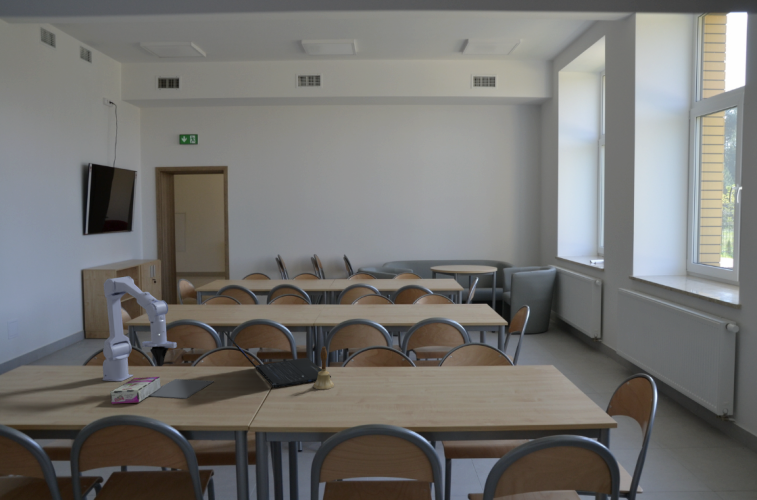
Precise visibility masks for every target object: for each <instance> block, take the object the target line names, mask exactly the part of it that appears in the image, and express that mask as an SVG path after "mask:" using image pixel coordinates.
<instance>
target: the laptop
mask: <svg viewBox="0 0 757 500" xmlns="http://www.w3.org/2000/svg"><path fill="white" fill-rule="evenodd" d="M222 332H223V333H224V334H225V335H226V337H227V338H228V339H229V340H230V341H231V342H232V343H233V344H234V346H235V347H236V348H237V350H238V351H239V352H240V353H242V355H243V356H244V357H245V358H246V359H247V360H248V362H250V364H252V366H253V367H254V368H255V369H256V370H257V371H258V372H259V374H261V376H262V377H263V378H264V379H265V380H266V381H267V382H268V384H270V386H271V387H272V388H284V387H288V386H294V385H295V386H296V385H301V384H306V383H307V384H308V383H311V382H313V383H314V382H316V380H317V377H318V373H319V372H320V371H322V367H320V366H318V365H317V364H316V363H314V362H313V361H312V360H310V358H308V357H302V358H296V359H289V360H283V361H276V362H270V363H264V364H255V363H254V361H253V360H251V358H249V356H247V354H246V353H245V351H244V350H243V349H241V347H240V346H239V345H238V344H237V343H236V342H235V340H234V339H233V338H232V337H231V336H230V335H229V334H228V333H227V332H226V331H225V330H223V331H222ZM331 378H332V375H330V379H331Z"/></svg>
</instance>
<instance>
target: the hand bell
mask: <svg viewBox="0 0 757 500" xmlns="http://www.w3.org/2000/svg"><path fill="white" fill-rule="evenodd" d="M319 356H320V360H321V369H322V371H320V372H319V373H318V377H317V380H316V381H314V382H313V385H312V387H313V389H317V390H321V391H322V390H323V391H324V390H330V389H332V388H334V387H335V384H334V382H333V381H332V380H331V378H330V376H331V374H330V372H329V371H327V364H326V362H327V358H328V352H327V349H326V346H322V347H321V350H320V355H319Z"/></svg>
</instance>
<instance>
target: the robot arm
mask: <svg viewBox="0 0 757 500" xmlns="http://www.w3.org/2000/svg"><path fill="white" fill-rule="evenodd" d="M103 291H104V298H105V300H106V307H107V309H106V310H107V318H108V329H109V336H108V337H107V338H106V339H105V340H104V342H103V350H102V352H103V356H104V357H105V359H104V361H103V363H102V373H103V374H102V375H103V376H102V377H103V378H102V379H101V380H102V381H107V382H108V381H110V382H123V381H125V380H127V379H129V378H131V377H134V374H129V363H128V361H129V360H128V357H129V356H130V354H131V352H132V349H133V348H132V344H131V341H130V337H128V336H127V335H125V333H124V325H123V324H124V323H123V315H122V314H123V313H122V303H121V299H122V297H124V295H126V294H129V295H130V296H132V297H133V298H135V299H136V303H137V304H138V305H139V306H140V307H141V308H142V309H144V310H145V312H146V315H147V317H148V322H149V324H150V340H148V341H147V340H145V341H142V342H141V346H142V348H147V347H148V348H150V352H151V354H152V356H153V357H154V359H155V363H156V365H157V366H159V367H160V366H163V365H164V362H165V359H166V355H167V352H168V350H169V349H175V348H177V347H178V345H177V342H176V341H169V340H168V337H167V323H166V322H167V321H166V315H167V314H168V312H169V305H168V303H167V302H166V301H165V300H162V299H161V300H159V299H157V298H156V297H154V296H153V295H152V294H151V293H150V292H149V291H144V292H143V290H141V288H139V287H138V286H137V285H136V284H135V281H134V278H132V277H131V276H130V275H127V276H123V277H114V278H107V279H106V280H105V281H104V282H103Z"/></svg>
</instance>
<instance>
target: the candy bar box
mask: <svg viewBox="0 0 757 500" xmlns="http://www.w3.org/2000/svg"><path fill="white" fill-rule="evenodd" d="M161 386H162V385H161V377H160V376H147V377H133V378H132V379H130V380H129V381H126V382H125V383H123V384H122V385H119V386H118V387H117V388H115V389H113V390H111V391H110V392H109V393H110V399H111V400H110V401H111V404H112V405H115V404H116V405H117V404H131V403H132V404H133V403H141V402H142V401H143V400H145V399H146V398H148V397H149V395H151V394H152V393H154V392H155V391H157V390H158V389H160V388H161Z"/></svg>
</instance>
